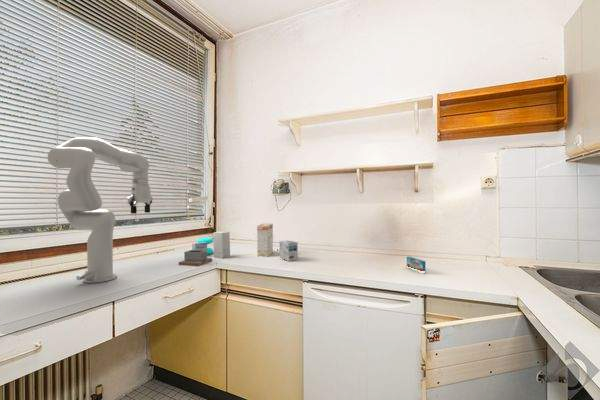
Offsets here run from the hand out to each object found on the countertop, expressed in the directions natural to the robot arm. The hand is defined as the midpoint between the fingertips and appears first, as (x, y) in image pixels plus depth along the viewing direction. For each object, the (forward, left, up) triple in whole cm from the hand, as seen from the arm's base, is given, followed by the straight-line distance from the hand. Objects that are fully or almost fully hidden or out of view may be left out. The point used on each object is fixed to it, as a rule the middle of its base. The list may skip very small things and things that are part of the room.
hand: (140, 213), depth 163 cm
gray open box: (+10, -28, -27) cm, 40 cm away
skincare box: (+28, -34, -28) cm, 52 cm away
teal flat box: (+22, -146, -29) cm, 150 cm away
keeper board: (+10, -28, -28) cm, 41 cm away
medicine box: (+26, -20, -29) cm, 44 cm away
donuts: (+35, -18, -29) cm, 49 cm away
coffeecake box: (+43, -57, -29) cm, 77 cm away
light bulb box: (+32, -76, -29) cm, 87 cm away
